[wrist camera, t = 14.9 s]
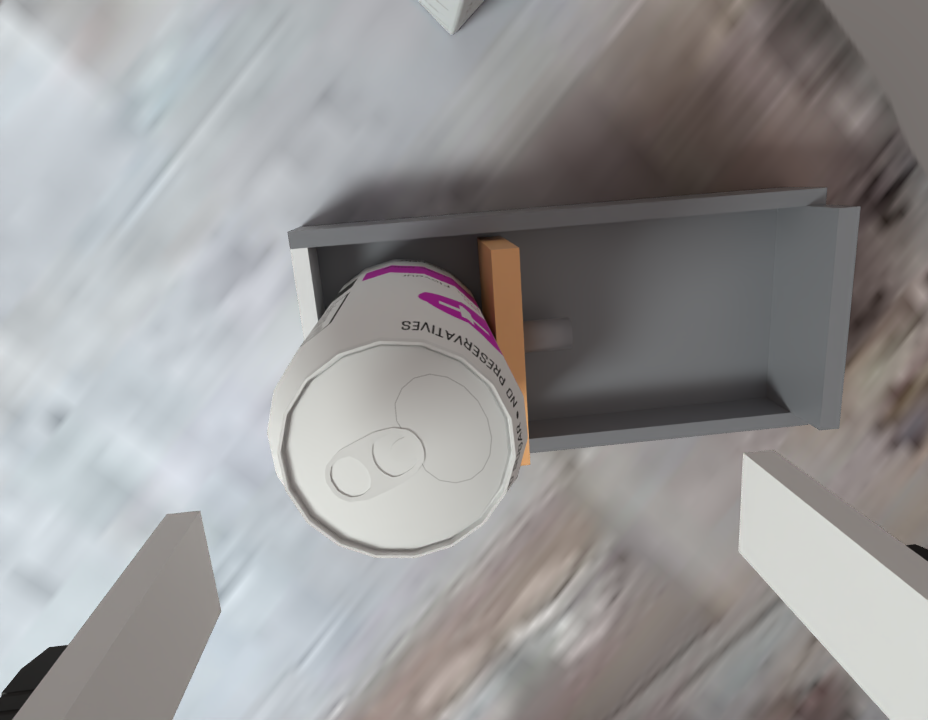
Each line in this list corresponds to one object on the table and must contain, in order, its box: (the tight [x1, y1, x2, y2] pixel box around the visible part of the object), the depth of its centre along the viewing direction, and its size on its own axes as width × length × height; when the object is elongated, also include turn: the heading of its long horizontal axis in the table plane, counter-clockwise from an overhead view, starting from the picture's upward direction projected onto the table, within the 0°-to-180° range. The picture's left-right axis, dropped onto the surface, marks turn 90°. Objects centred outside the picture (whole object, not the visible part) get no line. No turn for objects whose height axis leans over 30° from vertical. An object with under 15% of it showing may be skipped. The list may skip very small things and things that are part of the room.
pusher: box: [477, 236, 573, 466], centre depth 31 cm, size 10×4×6 cm, turn 4°
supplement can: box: [267, 259, 528, 558], centre depth 26 cm, size 8×8×15 cm
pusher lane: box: [288, 187, 861, 453], centre depth 32 cm, size 12×26×6 cm, turn 94°
